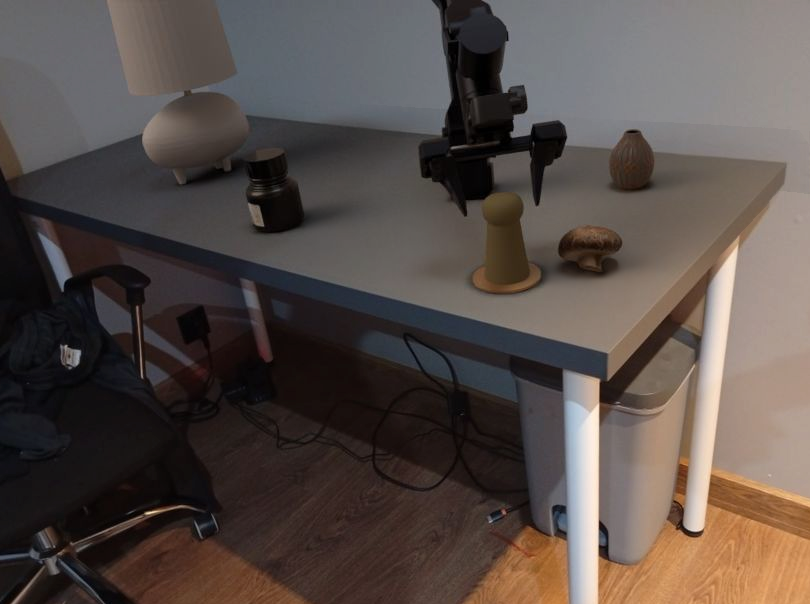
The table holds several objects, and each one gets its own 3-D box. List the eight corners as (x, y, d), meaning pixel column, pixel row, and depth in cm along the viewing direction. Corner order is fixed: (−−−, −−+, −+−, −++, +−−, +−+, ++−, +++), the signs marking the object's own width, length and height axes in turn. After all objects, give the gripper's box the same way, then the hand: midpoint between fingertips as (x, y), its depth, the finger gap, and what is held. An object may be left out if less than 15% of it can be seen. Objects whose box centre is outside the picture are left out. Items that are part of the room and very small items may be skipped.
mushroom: (606, 264, 89) (599, 214, 90) (550, 278, 95) (543, 231, 95) (635, 269, 95) (628, 223, 96) (581, 282, 101) (574, 238, 101)
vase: (655, 191, 115) (657, 136, 111) (609, 194, 117) (610, 139, 113) (651, 176, 121) (654, 123, 116) (608, 179, 123) (609, 126, 118)
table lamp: (181, 200, 144) (112, -26, 123) (137, 182, 158) (68, -23, 138) (278, 165, 155) (231, -48, 134) (229, 151, 170) (178, -42, 149)
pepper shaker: (535, 279, 95) (532, 199, 89) (490, 288, 94) (483, 207, 89) (522, 261, 100) (518, 183, 94) (479, 269, 100) (472, 191, 94)
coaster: (468, 294, 95) (468, 291, 95) (477, 263, 102) (477, 260, 102) (538, 293, 92) (538, 290, 92) (543, 262, 100) (543, 259, 100)
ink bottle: (260, 215, 130) (243, 148, 124) (308, 209, 130) (294, 142, 123) (248, 237, 122) (230, 167, 116) (300, 231, 121) (284, 160, 115)
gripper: (409, 76, 89) (427, 193, 86) (562, 52, 89) (587, 170, 85) (413, 124, 100) (429, 230, 96) (549, 103, 99) (570, 209, 96)
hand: (501, 210), depth 93 cm, fingers open, 9 cm apart
